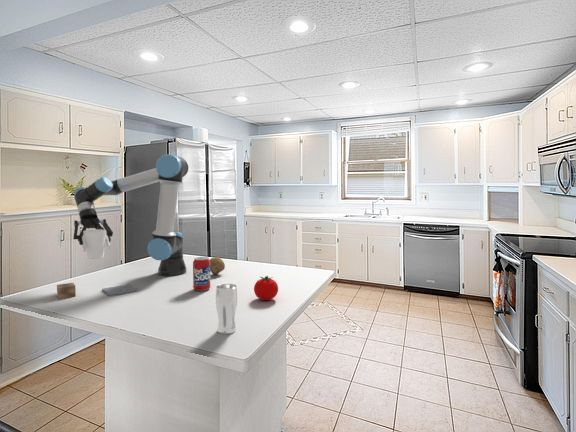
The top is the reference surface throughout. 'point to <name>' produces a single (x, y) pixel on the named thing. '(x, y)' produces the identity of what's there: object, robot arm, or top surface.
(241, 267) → the top surface
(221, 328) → the beer glass
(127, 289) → the mat
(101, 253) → the foam cup
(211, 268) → the natural sponge
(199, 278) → the soda can
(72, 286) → the walnut block
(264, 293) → the tomato
